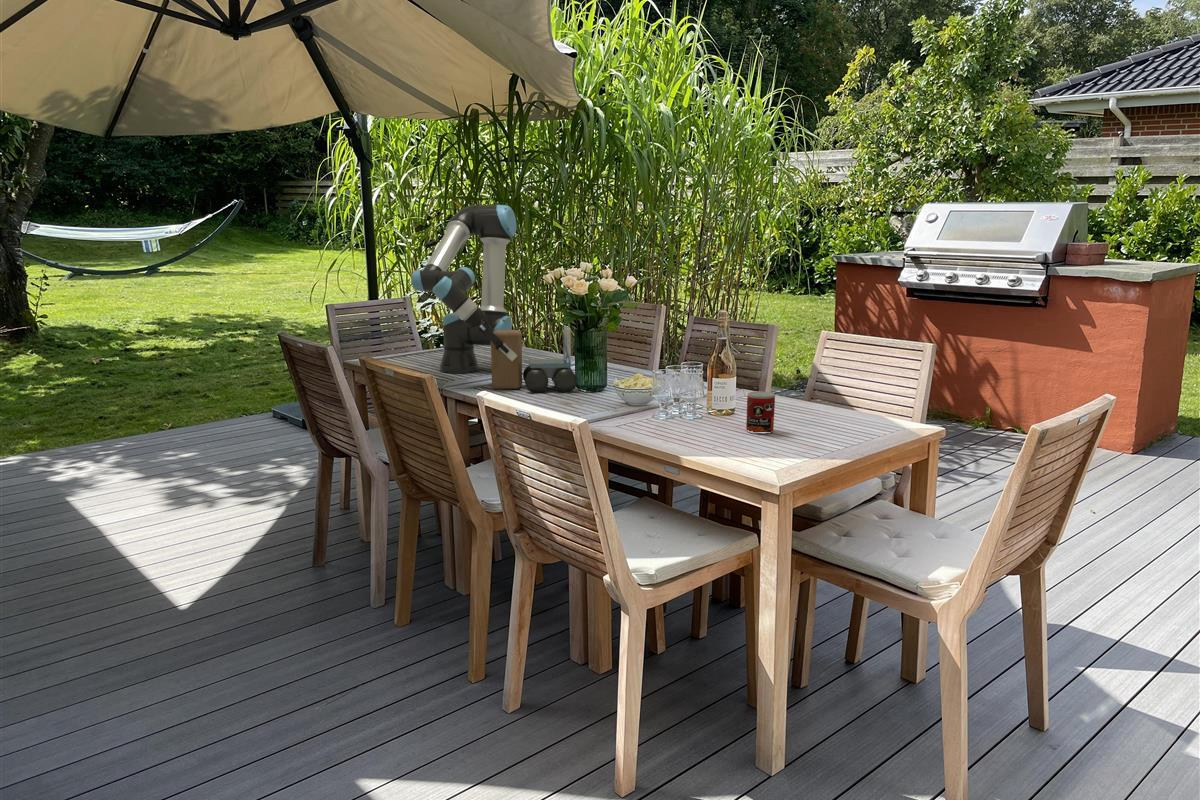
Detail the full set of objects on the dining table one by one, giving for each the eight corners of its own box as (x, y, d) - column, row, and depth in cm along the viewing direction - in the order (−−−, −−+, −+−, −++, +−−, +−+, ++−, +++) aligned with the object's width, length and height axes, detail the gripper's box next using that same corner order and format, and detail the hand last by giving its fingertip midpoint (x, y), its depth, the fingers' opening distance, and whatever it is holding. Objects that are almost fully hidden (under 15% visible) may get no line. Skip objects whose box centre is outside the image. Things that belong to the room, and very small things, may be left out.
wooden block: (491, 389, 323) (490, 332, 319) (495, 384, 333) (493, 329, 329) (520, 389, 323) (519, 332, 319) (522, 384, 333) (521, 329, 329)
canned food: (743, 433, 260) (745, 395, 258) (749, 427, 267) (750, 390, 265) (770, 435, 257) (772, 397, 255) (775, 429, 265) (777, 392, 262)
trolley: (522, 386, 331) (522, 317, 326) (572, 385, 333) (572, 316, 328) (525, 393, 317) (524, 321, 312) (577, 392, 319) (577, 321, 314)
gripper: (463, 317, 334) (505, 358, 339) (462, 325, 310) (507, 368, 315) (477, 303, 334) (519, 343, 339) (478, 309, 310) (523, 353, 315)
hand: (513, 355), depth 327 cm, fingers open, 13 cm apart
